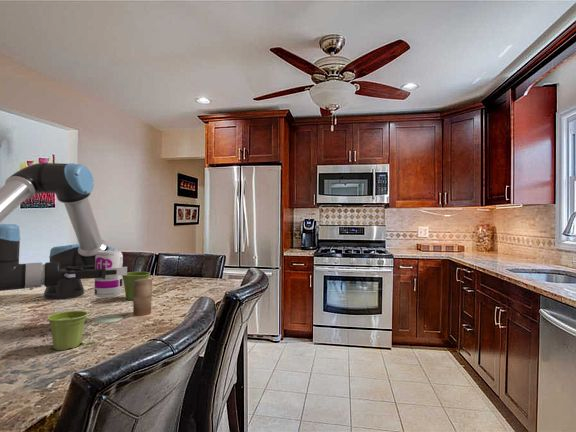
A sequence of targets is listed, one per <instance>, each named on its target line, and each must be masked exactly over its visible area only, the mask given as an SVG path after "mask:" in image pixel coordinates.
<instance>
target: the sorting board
mask: <svg viewBox="0 0 576 432" xmlns="http://www.w3.org/2000/svg"><path fill="white" fill-rule="evenodd" d="M156 313H157V312H156V311H155V310H152V309H151V314H149V315H145V316H135V315H133V311H132V312H130V313H128V317H131V318H145V317H151V316H153V315H155V314H156ZM123 318H124V317H123V316H122V315H119V314H109V315H108V314H107V315H103V316H98V317H94V319H92V322H93V323H97V324H107V323H113V322H117V321H120V320H122V319H123Z"/></svg>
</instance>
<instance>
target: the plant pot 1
mask: <svg viewBox="0 0 576 432" xmlns="http://www.w3.org/2000/svg"><path fill="white" fill-rule="evenodd" d="M88 315H89V312H88V311H84V310H69V311H63V312H58V313H57V312H56V313H53V314H50V315H48V316H47V318H46V319H47V321H48V323H49V325H50V329H51V337H52V345H53V349H54V350H55V351H56V350H57V351H66V350H69V349H70V348H71V349H75V348H77V347H79V346H80V345H81V342H82V336H83V332H84V327H85V321H86V320H87V317H88Z"/></svg>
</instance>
